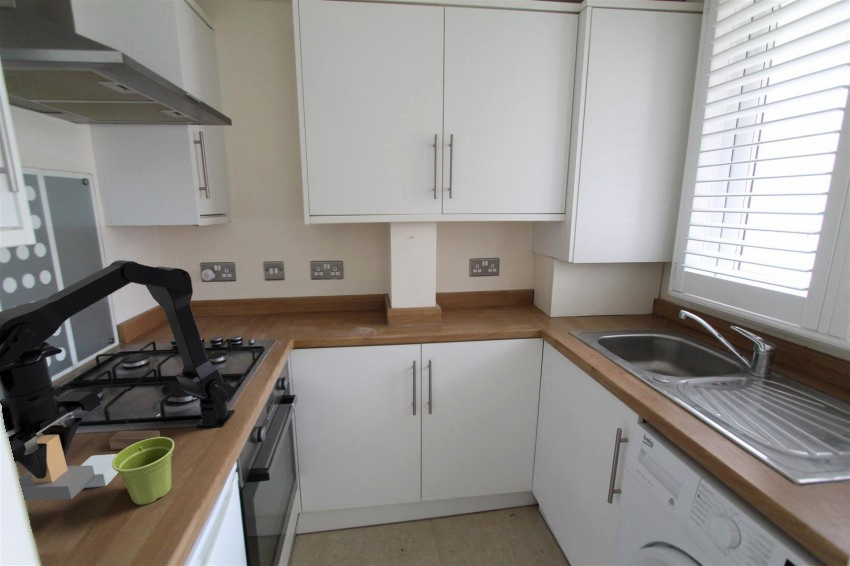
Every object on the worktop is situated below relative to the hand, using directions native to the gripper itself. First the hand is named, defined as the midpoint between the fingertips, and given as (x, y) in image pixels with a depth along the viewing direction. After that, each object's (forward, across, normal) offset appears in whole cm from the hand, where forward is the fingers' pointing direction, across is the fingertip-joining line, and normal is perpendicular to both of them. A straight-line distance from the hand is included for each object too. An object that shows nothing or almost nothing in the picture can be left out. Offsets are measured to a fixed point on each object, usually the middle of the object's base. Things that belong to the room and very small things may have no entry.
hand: (50, 470), depth 67 cm
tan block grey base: (+4, 0, 0) cm, 4 cm away
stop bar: (+8, -19, 0) cm, 21 cm away
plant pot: (+9, -4, +13) cm, 16 cm away
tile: (+9, -9, 0) cm, 13 cm away
